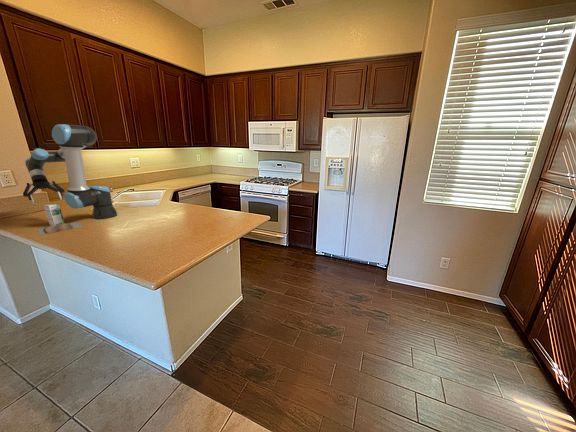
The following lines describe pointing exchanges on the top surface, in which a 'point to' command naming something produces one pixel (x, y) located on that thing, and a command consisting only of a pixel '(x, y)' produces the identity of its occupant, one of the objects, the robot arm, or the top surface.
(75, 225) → the mat
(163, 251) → the top surface
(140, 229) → the top surface
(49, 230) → the stand
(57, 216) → the syrup box
